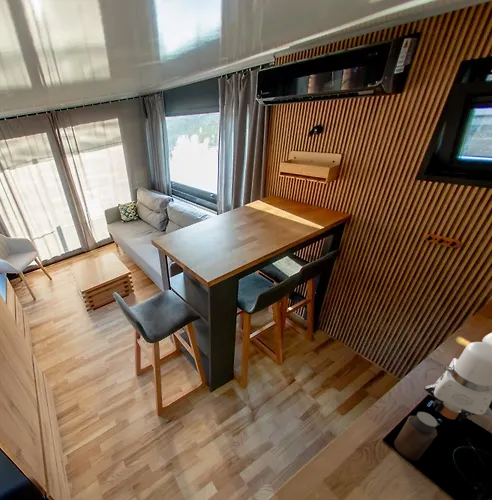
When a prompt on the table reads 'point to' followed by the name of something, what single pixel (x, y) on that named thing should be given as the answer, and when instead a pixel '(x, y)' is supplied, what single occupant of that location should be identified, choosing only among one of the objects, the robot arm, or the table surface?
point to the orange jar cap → (450, 411)
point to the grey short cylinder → (425, 422)
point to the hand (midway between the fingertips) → (447, 412)
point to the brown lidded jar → (413, 440)
